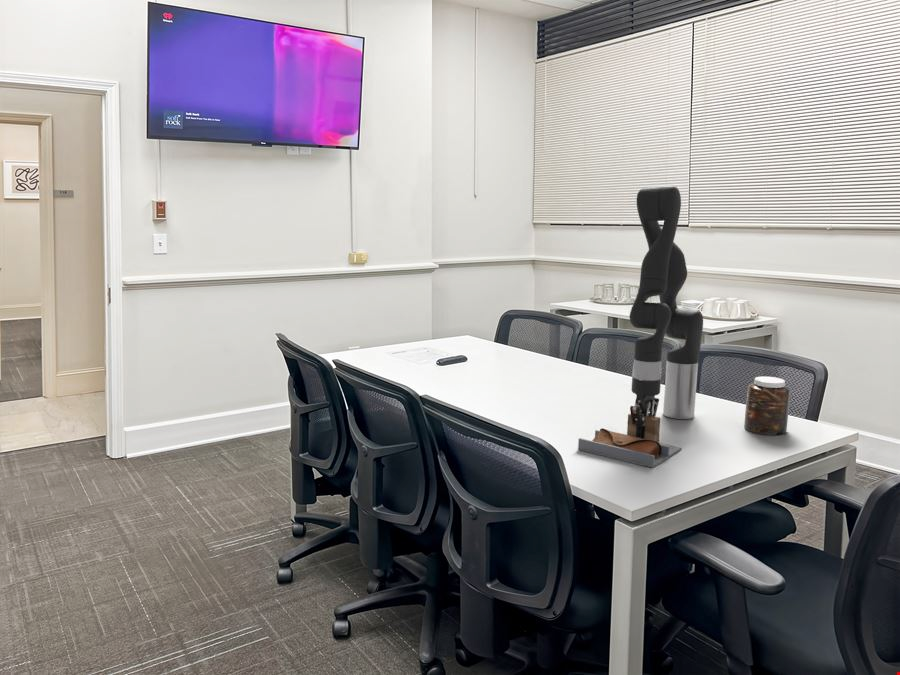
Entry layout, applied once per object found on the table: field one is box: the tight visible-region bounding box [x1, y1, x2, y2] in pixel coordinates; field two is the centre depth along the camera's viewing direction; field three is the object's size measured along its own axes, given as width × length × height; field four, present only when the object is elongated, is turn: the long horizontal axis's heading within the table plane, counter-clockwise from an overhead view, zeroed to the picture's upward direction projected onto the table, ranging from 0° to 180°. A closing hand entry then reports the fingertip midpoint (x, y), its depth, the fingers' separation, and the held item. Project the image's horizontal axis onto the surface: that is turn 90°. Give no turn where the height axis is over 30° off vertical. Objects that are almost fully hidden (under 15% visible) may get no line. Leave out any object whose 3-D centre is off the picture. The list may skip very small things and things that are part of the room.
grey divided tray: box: [577, 412, 683, 469], centre depth 197 cm, size 18×21×8 cm
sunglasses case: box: [591, 428, 661, 459], centre depth 194 cm, size 18×7×7 cm, turn 51°
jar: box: [743, 376, 791, 436], centre depth 216 cm, size 12×12×15 cm
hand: (642, 437), depth 203 cm, fingers closed on grey divided tray, 3 cm apart
